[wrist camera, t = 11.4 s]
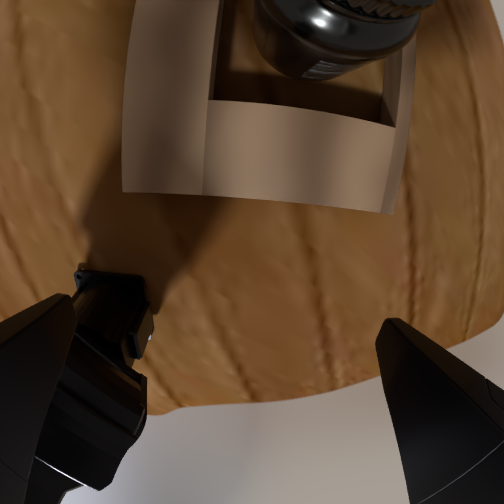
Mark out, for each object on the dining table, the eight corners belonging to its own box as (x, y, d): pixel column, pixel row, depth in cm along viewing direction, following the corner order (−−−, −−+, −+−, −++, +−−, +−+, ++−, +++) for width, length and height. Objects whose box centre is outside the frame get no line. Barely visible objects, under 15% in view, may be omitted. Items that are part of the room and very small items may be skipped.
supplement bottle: (367, 19, 14) (479, -42, 3) (337, 99, 16) (457, 89, 6) (271, -19, 12) (299, -134, 2) (236, 61, 15) (220, -23, 4)
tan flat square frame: (136, 182, 18) (122, 192, 16) (161, -47, 11) (152, -63, 8) (378, 203, 19) (392, 214, 17) (397, -18, 12) (413, -28, 9)
